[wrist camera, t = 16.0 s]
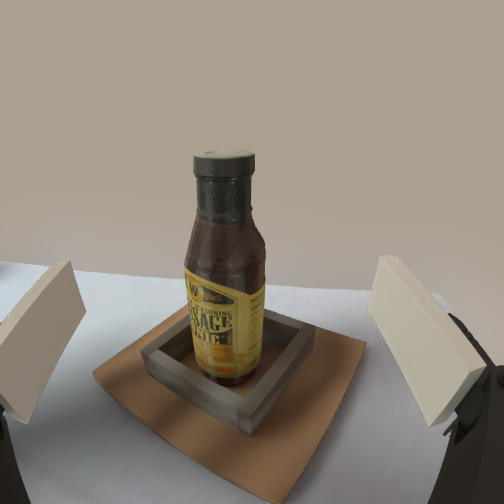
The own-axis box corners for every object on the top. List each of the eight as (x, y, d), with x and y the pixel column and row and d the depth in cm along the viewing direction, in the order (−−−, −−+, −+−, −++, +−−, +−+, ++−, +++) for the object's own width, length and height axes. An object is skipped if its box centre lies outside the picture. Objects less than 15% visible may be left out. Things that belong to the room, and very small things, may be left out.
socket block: (96, 381, 26) (79, 348, 23) (210, 297, 41) (207, 266, 39) (279, 506, 15) (285, 490, 13) (363, 351, 30) (373, 317, 28)
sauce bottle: (185, 364, 27) (154, 155, 19) (231, 336, 31) (222, 145, 23) (229, 402, 23) (211, 160, 15) (276, 366, 27) (286, 151, 19)
